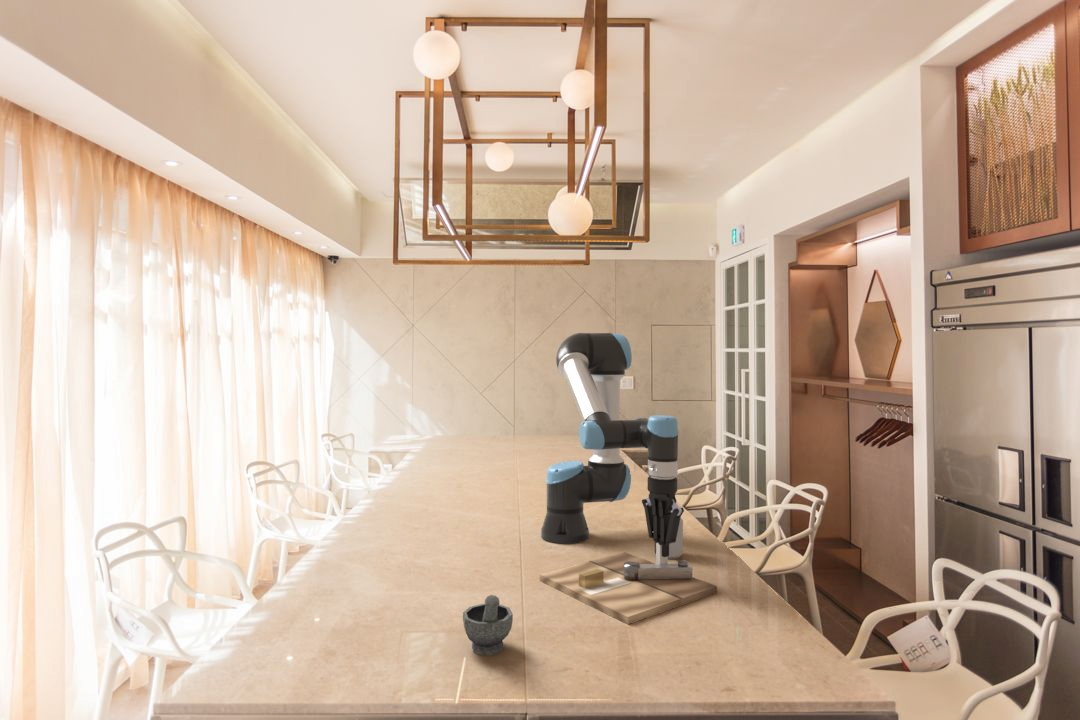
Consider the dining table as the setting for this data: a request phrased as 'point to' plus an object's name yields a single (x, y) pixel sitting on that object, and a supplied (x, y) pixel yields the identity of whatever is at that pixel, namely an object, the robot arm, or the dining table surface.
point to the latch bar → (657, 571)
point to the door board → (624, 588)
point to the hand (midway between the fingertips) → (661, 567)
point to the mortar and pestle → (488, 625)
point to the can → (677, 544)
